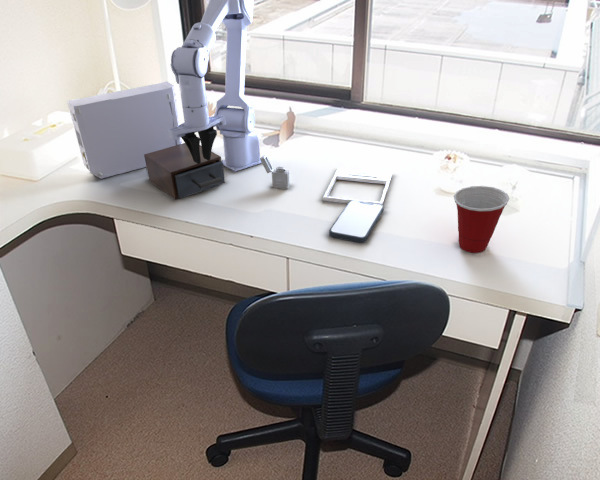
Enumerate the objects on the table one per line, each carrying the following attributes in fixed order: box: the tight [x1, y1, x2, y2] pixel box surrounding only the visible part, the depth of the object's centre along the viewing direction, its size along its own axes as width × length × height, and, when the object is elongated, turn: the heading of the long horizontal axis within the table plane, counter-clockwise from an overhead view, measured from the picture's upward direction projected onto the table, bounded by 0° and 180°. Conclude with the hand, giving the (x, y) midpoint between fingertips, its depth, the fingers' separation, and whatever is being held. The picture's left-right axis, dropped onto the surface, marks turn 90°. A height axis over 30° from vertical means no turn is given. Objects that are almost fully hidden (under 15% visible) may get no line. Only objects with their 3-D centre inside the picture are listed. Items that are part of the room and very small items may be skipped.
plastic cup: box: [453, 185, 510, 254], centre depth 116 cm, size 11×11×12 cm
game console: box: [66, 81, 183, 179], centre depth 150 cm, size 6×27×20 cm, turn 124°
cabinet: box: [144, 142, 222, 200], centre depth 145 cm, size 14×14×7 cm
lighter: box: [260, 154, 290, 190], centre depth 142 cm, size 7×2×8 cm, turn 74°
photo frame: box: [322, 167, 393, 206], centre depth 142 cm, size 15×1×18 cm
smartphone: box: [328, 200, 385, 244], centre depth 127 cm, size 9×2×16 cm
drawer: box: [174, 160, 226, 199], centre depth 142 cm, size 18×13×6 cm
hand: (202, 160), depth 135 cm, fingers closed
